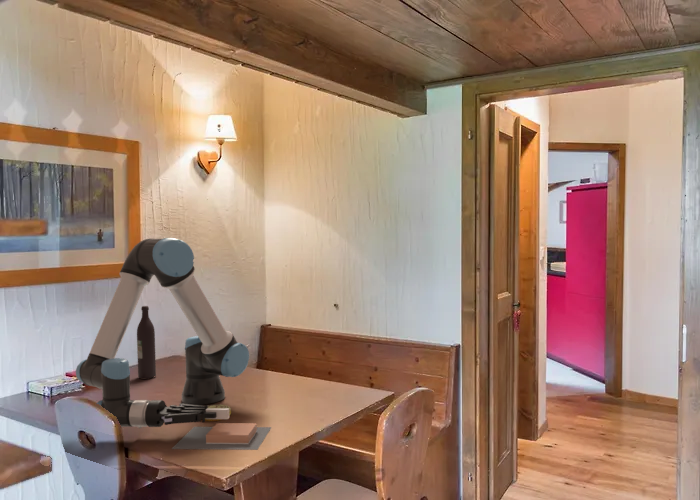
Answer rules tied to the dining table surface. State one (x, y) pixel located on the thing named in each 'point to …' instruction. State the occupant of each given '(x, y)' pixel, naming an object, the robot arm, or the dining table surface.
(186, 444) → the slate mat
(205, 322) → the robot arm
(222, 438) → the terracotta tile
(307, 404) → the dining table surface
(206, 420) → the decorated donut
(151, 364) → the wine bottle
